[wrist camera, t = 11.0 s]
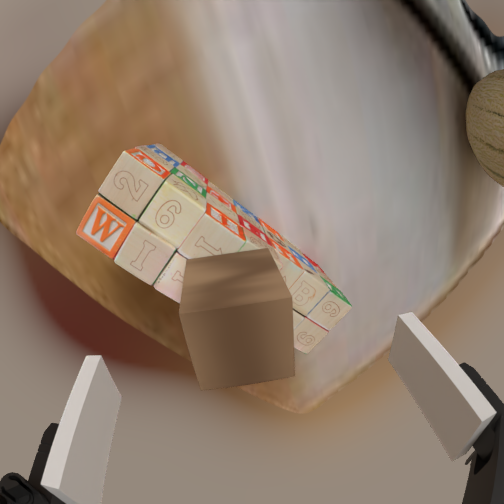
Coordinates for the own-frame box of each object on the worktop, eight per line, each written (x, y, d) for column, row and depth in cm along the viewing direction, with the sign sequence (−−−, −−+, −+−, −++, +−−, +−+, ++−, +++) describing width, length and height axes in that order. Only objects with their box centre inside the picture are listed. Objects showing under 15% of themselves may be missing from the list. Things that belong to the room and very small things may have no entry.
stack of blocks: (320, 264, 34) (369, 327, 23) (283, 304, 35) (314, 379, 24) (157, 141, 27) (122, 148, 16) (122, 194, 28) (72, 234, 17)
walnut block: (267, 247, 19) (292, 297, 13) (273, 315, 21) (294, 376, 15) (186, 259, 19) (178, 313, 13) (200, 326, 20) (200, 390, 15)
